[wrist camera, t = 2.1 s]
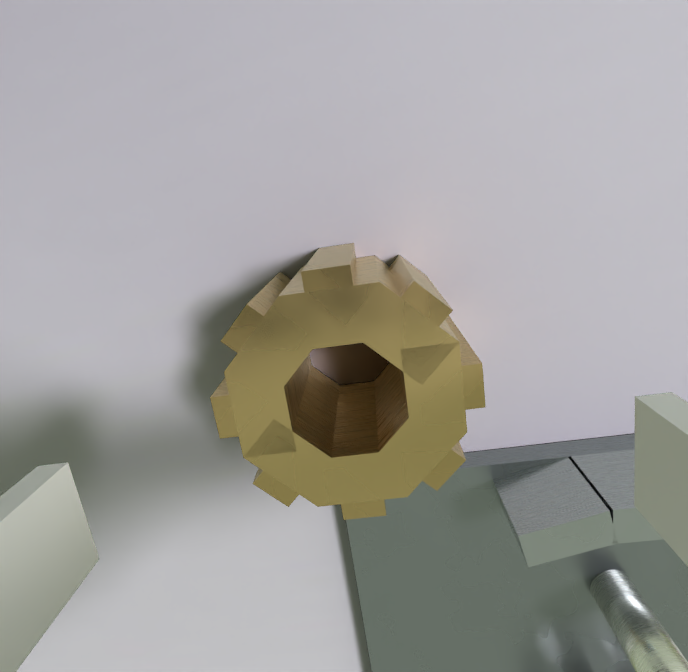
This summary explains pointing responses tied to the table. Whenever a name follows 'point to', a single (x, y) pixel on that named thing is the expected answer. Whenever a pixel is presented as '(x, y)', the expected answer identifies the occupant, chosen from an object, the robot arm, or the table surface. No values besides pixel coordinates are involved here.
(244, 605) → the table surface
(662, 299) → the table surface
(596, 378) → the table surface
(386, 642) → the carrier
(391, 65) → the table surface
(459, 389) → the gear
